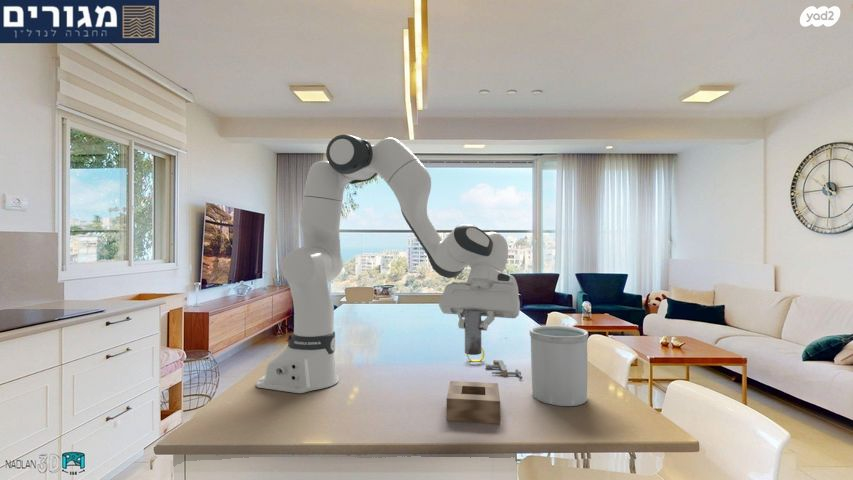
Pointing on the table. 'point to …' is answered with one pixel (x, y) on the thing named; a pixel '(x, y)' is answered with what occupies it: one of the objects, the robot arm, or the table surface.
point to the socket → (473, 402)
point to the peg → (472, 332)
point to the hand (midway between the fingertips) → (472, 328)
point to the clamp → (502, 369)
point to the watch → (477, 360)
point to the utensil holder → (559, 364)
